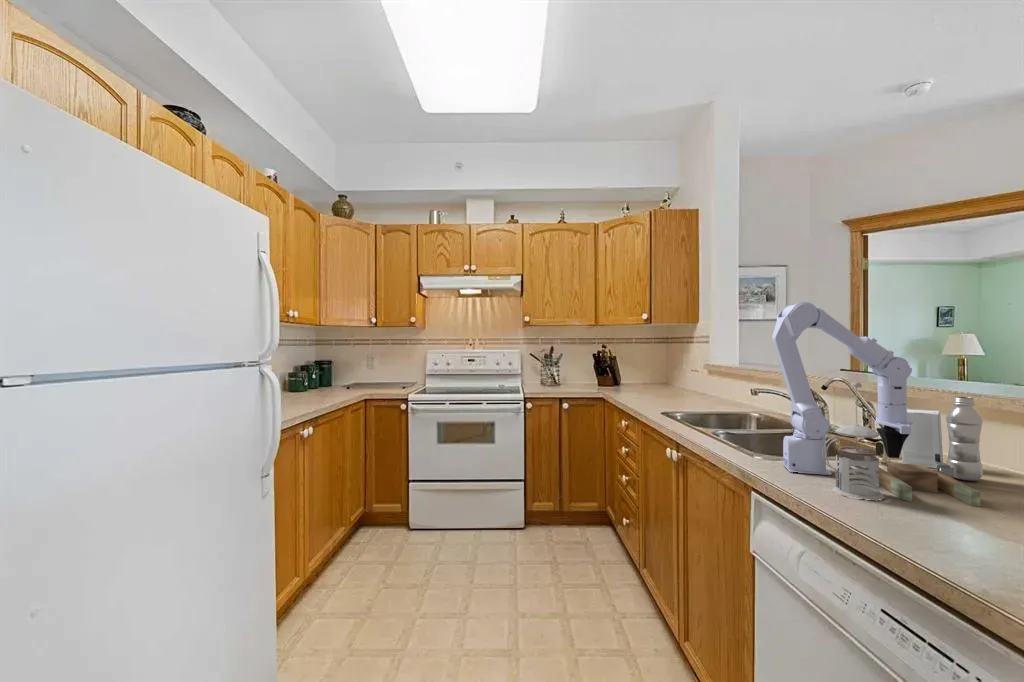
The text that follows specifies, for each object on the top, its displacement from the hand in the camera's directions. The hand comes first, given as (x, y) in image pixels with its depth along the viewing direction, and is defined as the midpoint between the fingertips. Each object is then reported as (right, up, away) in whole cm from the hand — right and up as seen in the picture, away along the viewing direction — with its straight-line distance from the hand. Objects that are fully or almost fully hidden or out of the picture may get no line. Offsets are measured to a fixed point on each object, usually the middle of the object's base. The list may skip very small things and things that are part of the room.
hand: (893, 457), depth 119 cm
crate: (-3, -5, -9) cm, 11 cm away
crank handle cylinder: (+6, -4, -7) cm, 10 cm away
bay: (-4, -4, -13) cm, 14 cm away
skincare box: (+15, -4, +8) cm, 17 cm away
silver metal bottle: (+13, -4, -5) cm, 15 cm away
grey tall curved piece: (-20, -5, -14) cm, 25 cm away
